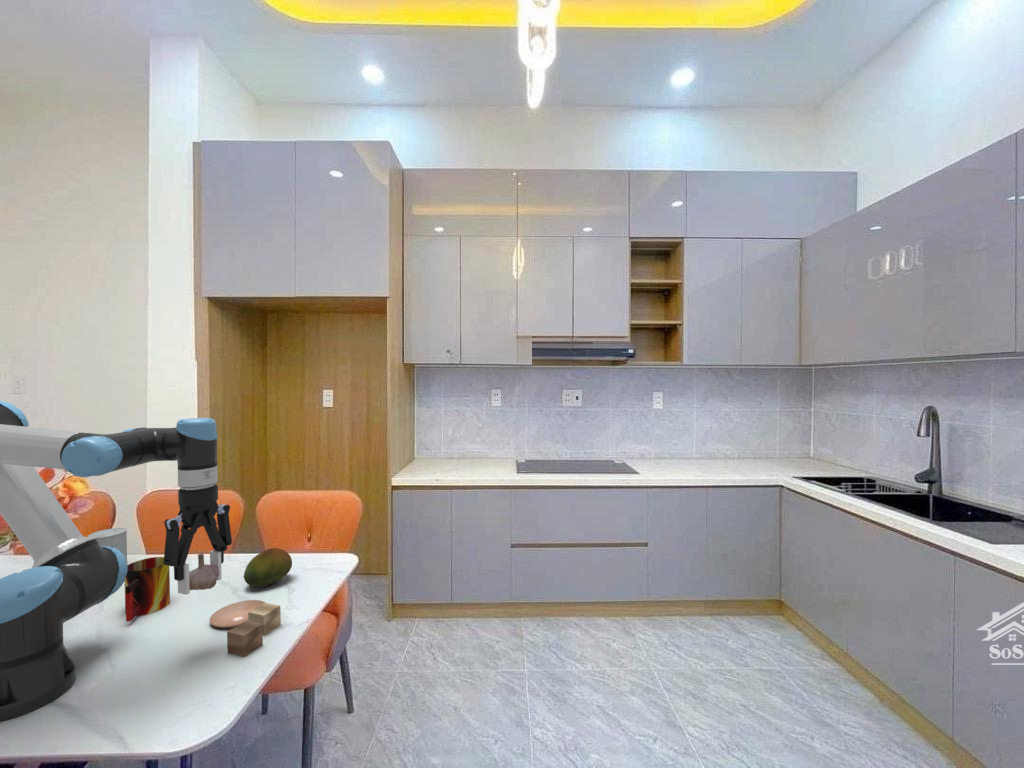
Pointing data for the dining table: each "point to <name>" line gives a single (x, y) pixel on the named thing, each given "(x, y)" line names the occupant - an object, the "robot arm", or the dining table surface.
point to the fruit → (267, 567)
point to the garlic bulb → (203, 575)
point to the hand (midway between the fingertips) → (200, 585)
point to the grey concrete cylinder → (112, 539)
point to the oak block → (266, 616)
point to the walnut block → (244, 638)
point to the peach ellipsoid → (233, 614)
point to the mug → (146, 587)
